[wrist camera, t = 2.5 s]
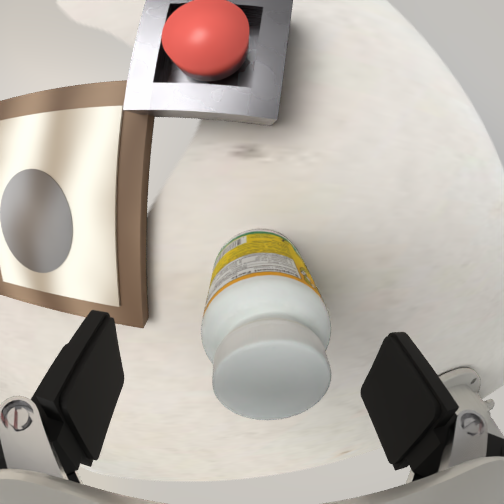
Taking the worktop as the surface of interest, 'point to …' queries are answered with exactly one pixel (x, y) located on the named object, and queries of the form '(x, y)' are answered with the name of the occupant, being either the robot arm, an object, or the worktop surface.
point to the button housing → (211, 92)
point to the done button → (207, 39)
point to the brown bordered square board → (75, 201)
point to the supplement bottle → (265, 328)
